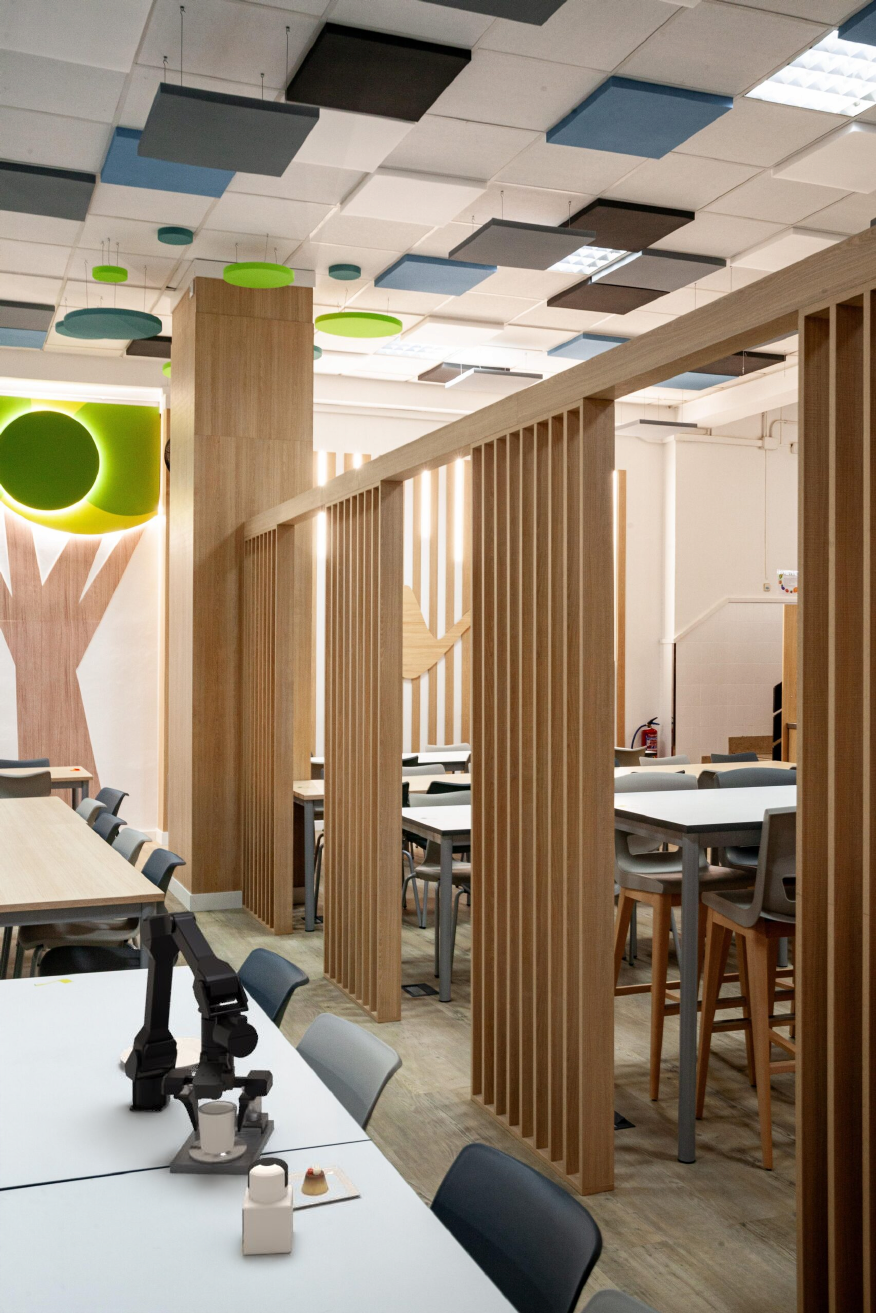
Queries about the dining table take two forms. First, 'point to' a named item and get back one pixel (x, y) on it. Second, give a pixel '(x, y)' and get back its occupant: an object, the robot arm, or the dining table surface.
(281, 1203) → the medicine bottle
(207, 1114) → the white cup
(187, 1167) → the base
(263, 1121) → the press lever
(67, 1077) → the dining table surface
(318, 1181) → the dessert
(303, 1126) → the dining table surface
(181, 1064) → the plate
